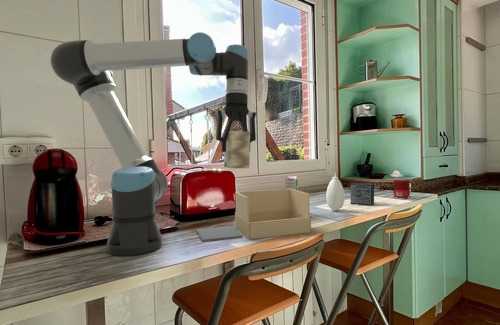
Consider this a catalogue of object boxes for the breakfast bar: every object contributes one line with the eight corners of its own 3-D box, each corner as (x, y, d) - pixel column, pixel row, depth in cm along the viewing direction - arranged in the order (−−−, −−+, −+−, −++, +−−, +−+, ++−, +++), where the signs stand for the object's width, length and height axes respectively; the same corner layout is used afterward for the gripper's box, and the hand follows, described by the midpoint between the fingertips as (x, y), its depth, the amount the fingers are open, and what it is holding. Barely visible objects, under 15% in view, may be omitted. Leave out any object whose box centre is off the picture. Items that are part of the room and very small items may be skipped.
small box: (374, 204, 151) (374, 183, 151) (372, 206, 146) (372, 184, 146) (353, 202, 157) (353, 182, 157) (350, 204, 152) (350, 183, 151)
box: (231, 168, 96) (231, 130, 95) (224, 166, 105) (224, 132, 105) (249, 168, 98) (249, 131, 97) (240, 166, 107) (240, 133, 107)
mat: (202, 241, 93) (202, 239, 93) (196, 230, 105) (196, 229, 105) (242, 237, 97) (242, 235, 97) (232, 227, 109) (232, 225, 109)
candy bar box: (287, 212, 134) (287, 175, 134) (298, 212, 133) (298, 175, 133) (285, 217, 123) (285, 178, 123) (297, 218, 122) (297, 178, 122)
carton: (248, 239, 95) (248, 198, 94) (235, 227, 110) (234, 191, 109) (311, 232, 102) (311, 194, 101) (290, 221, 117) (290, 188, 116)
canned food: (412, 199, 164) (412, 179, 164) (397, 199, 164) (397, 179, 164) (405, 196, 172) (405, 177, 171) (391, 196, 172) (391, 177, 172)
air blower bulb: (337, 208, 141) (337, 170, 140) (347, 211, 134) (347, 171, 133) (323, 209, 139) (323, 171, 138) (332, 213, 131) (332, 172, 130)
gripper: (210, 89, 94) (210, 162, 95) (266, 93, 101) (265, 162, 102) (206, 93, 102) (206, 161, 103) (259, 97, 108) (258, 161, 109)
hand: (235, 161), depth 102 cm, fingers closed on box, 6 cm apart
